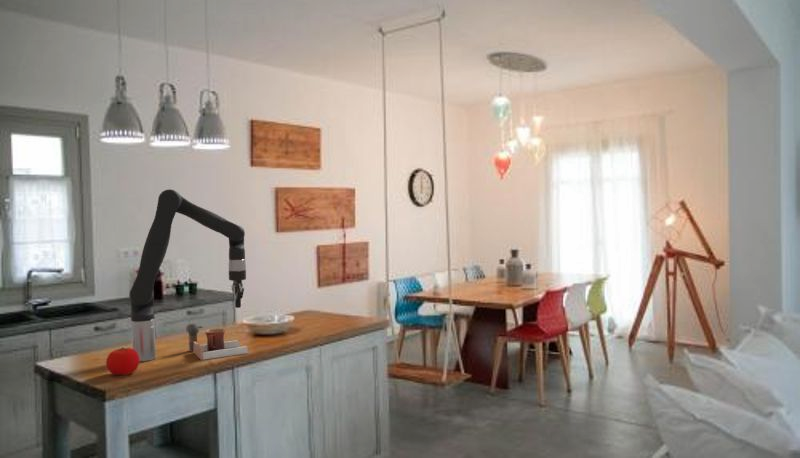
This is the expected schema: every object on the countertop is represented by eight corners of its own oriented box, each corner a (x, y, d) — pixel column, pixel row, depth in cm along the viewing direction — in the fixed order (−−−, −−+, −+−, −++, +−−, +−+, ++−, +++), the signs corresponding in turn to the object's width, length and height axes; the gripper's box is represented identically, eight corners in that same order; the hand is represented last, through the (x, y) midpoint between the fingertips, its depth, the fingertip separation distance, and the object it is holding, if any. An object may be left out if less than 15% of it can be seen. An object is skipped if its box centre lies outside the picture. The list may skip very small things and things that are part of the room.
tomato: (145, 369, 240) (144, 344, 240) (129, 378, 228) (128, 351, 228) (118, 370, 241) (117, 344, 240) (101, 378, 229) (99, 351, 228)
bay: (201, 360, 254) (200, 348, 253) (193, 352, 267) (193, 341, 267) (247, 353, 264) (247, 342, 263) (238, 346, 277) (238, 335, 277)
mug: (209, 351, 269) (208, 328, 269) (228, 350, 269) (227, 328, 269) (201, 358, 257) (200, 334, 257) (221, 357, 257) (220, 333, 257)
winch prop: (188, 352, 268) (187, 325, 267) (186, 350, 272) (185, 323, 271) (204, 350, 271) (203, 323, 271) (202, 348, 275) (201, 321, 275)
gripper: (225, 268, 272) (226, 306, 273) (232, 271, 261) (233, 310, 261) (241, 267, 276) (242, 304, 276) (249, 270, 264) (250, 308, 265)
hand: (238, 307), depth 269 cm, fingers closed
